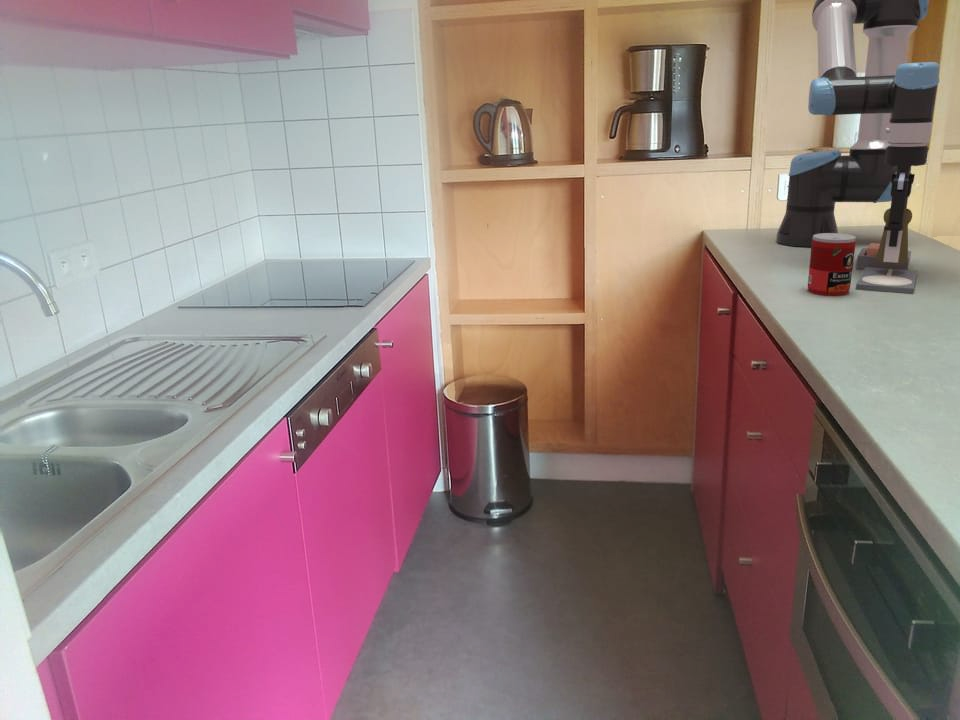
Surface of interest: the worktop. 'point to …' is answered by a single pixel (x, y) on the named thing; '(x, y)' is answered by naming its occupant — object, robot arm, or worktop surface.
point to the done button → (872, 249)
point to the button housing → (871, 262)
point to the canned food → (831, 263)
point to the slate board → (887, 280)
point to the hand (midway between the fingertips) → (891, 258)
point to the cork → (904, 240)
